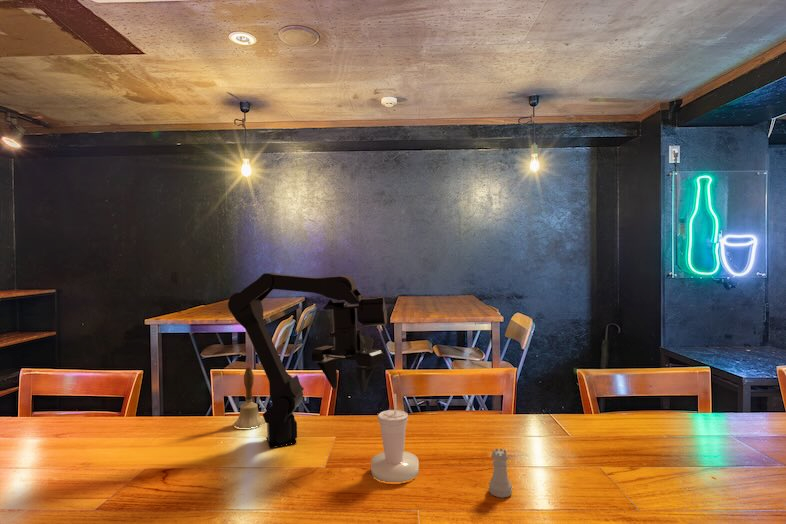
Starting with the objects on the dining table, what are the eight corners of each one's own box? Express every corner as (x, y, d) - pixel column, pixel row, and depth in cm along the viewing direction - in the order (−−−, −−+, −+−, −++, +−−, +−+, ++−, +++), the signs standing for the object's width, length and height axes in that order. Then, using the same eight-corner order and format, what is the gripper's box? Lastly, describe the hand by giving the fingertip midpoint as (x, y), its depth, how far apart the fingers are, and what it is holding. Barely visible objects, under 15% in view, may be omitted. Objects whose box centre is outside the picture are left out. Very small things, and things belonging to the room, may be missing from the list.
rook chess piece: (495, 484, 89) (494, 444, 89) (516, 491, 86) (515, 450, 86) (484, 493, 85) (483, 452, 85) (506, 501, 83) (505, 458, 82)
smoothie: (404, 469, 90) (402, 400, 90) (374, 465, 92) (372, 397, 92) (412, 455, 97) (411, 390, 96) (384, 452, 98) (382, 388, 98)
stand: (382, 489, 88) (381, 476, 88) (364, 467, 97) (364, 456, 97) (427, 478, 92) (426, 466, 92) (406, 458, 101) (406, 447, 101)
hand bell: (269, 419, 127) (268, 363, 127) (257, 430, 119) (256, 370, 119) (241, 418, 128) (240, 363, 128) (227, 430, 120) (226, 370, 120)
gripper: (394, 323, 111) (398, 386, 111) (338, 320, 121) (341, 378, 121) (367, 330, 102) (371, 399, 102) (308, 327, 112) (312, 389, 112)
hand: (348, 390), depth 109 cm, fingers open, 9 cm apart
